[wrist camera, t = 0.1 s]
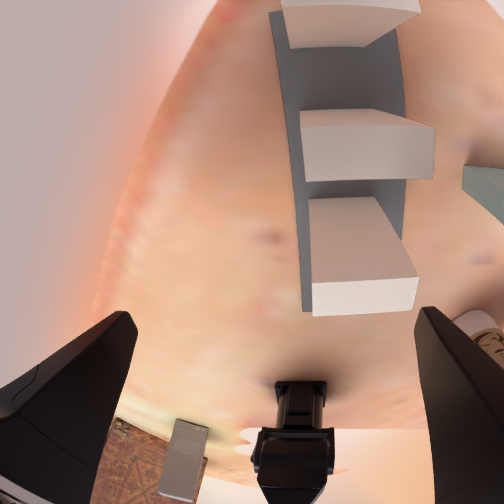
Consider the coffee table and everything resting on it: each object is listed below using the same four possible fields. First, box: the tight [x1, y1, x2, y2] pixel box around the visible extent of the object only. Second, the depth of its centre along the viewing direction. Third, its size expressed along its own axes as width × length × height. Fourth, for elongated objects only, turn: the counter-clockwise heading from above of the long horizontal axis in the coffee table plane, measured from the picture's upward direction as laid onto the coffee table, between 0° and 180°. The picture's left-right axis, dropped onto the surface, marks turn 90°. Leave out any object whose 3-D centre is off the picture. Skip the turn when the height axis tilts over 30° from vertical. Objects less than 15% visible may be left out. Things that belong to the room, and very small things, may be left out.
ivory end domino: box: [280, 0, 421, 49], centre depth 10 cm, size 2×5×10 cm, turn 99°
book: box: [90, 418, 208, 504], centre depth 46 cm, size 25×9×30 cm, turn 57°
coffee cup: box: [452, 309, 504, 369], centre depth 19 cm, size 11×11×15 cm
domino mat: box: [269, 11, 406, 312], centre depth 19 cm, size 25×8×1 cm, turn 8°
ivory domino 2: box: [308, 197, 419, 316], centre depth 16 cm, size 2×5×10 cm, turn 98°
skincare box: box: [157, 419, 208, 503], centre depth 41 cm, size 8×7×16 cm
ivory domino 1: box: [299, 109, 435, 182], centre depth 13 cm, size 2×5×10 cm, turn 98°
